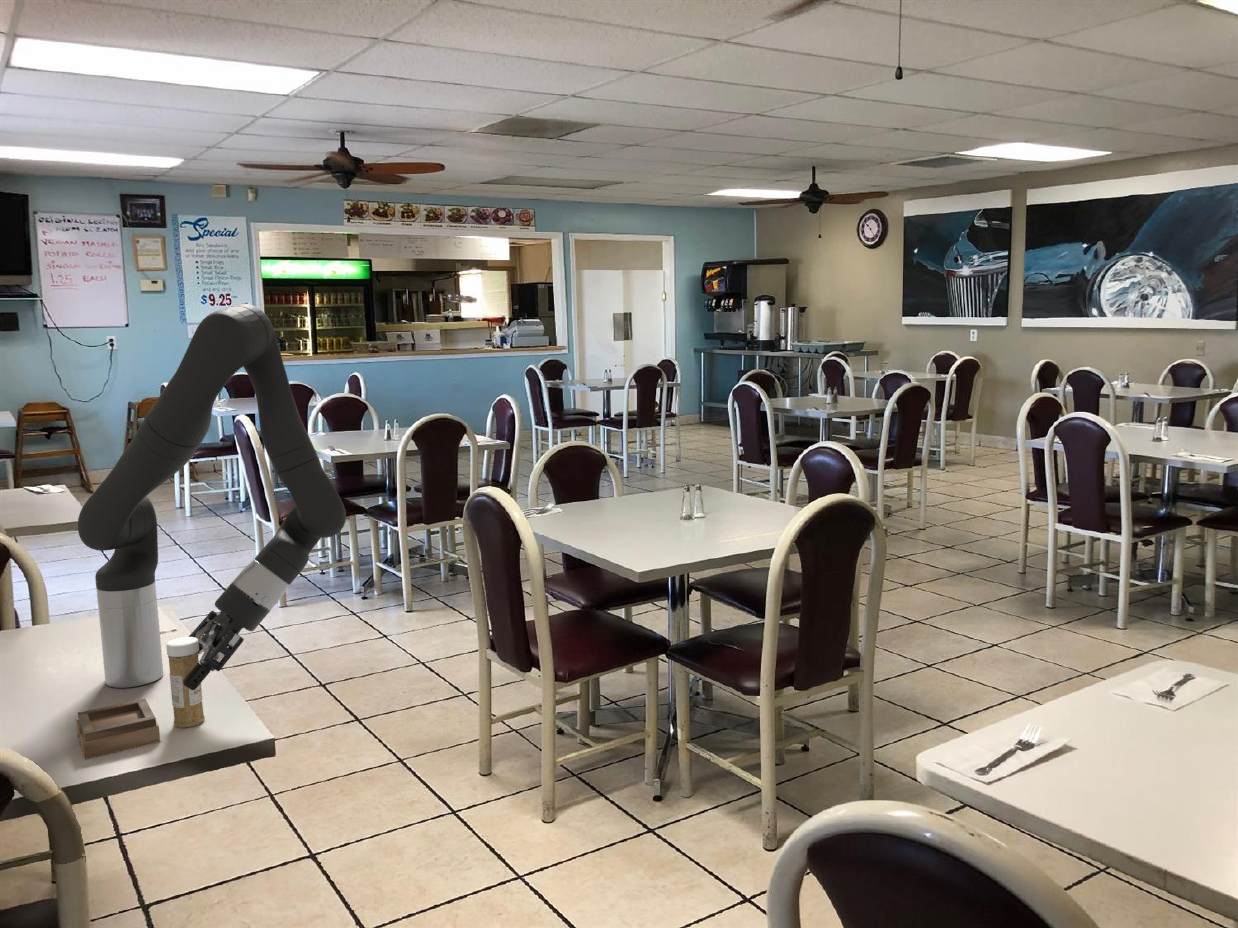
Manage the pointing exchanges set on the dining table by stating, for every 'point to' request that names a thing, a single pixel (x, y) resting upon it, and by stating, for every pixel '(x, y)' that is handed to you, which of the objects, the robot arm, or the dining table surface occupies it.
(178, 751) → the dining table surface
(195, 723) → the sprinkles bottle
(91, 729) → the walnut plinth
